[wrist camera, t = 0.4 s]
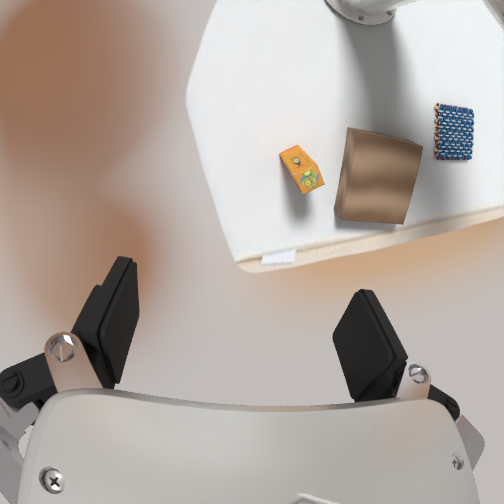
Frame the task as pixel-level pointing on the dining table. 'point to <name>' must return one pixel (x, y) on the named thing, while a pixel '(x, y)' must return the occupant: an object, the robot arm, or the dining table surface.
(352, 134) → the walnut stand
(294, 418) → the robot arm
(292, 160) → the supplement box
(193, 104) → the dining table surface
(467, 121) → the woven mat
